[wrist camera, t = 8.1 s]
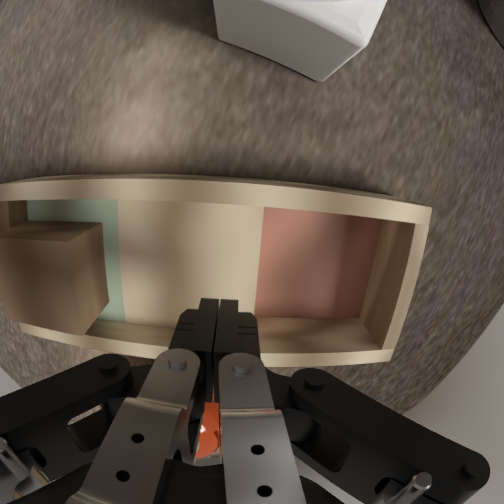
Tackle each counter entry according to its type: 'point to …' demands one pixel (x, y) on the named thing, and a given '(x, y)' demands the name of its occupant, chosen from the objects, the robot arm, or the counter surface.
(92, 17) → the counter surface
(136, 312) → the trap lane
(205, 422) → the tomato
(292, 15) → the medicine bottle
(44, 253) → the walnut block
